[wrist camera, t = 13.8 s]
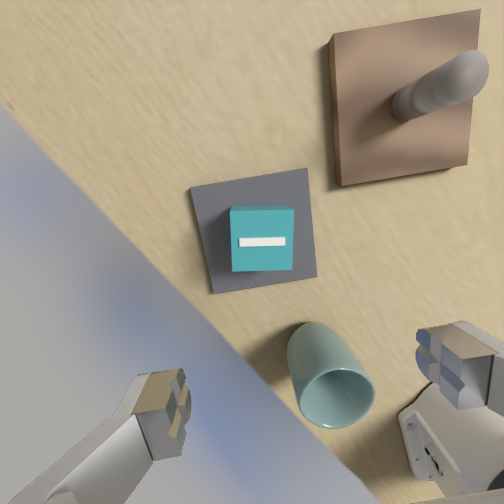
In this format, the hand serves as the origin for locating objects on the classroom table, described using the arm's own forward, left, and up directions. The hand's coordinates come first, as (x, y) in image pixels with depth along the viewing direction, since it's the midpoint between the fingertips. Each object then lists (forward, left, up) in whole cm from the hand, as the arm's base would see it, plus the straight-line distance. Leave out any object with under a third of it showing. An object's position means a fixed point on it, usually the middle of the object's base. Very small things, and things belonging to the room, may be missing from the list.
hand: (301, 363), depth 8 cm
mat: (0, 0, -22) cm, 22 cm away
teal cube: (+1, 0, -21) cm, 21 cm away
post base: (+11, -17, -22) cm, 30 cm away
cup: (-16, -5, -22) cm, 28 cm away
